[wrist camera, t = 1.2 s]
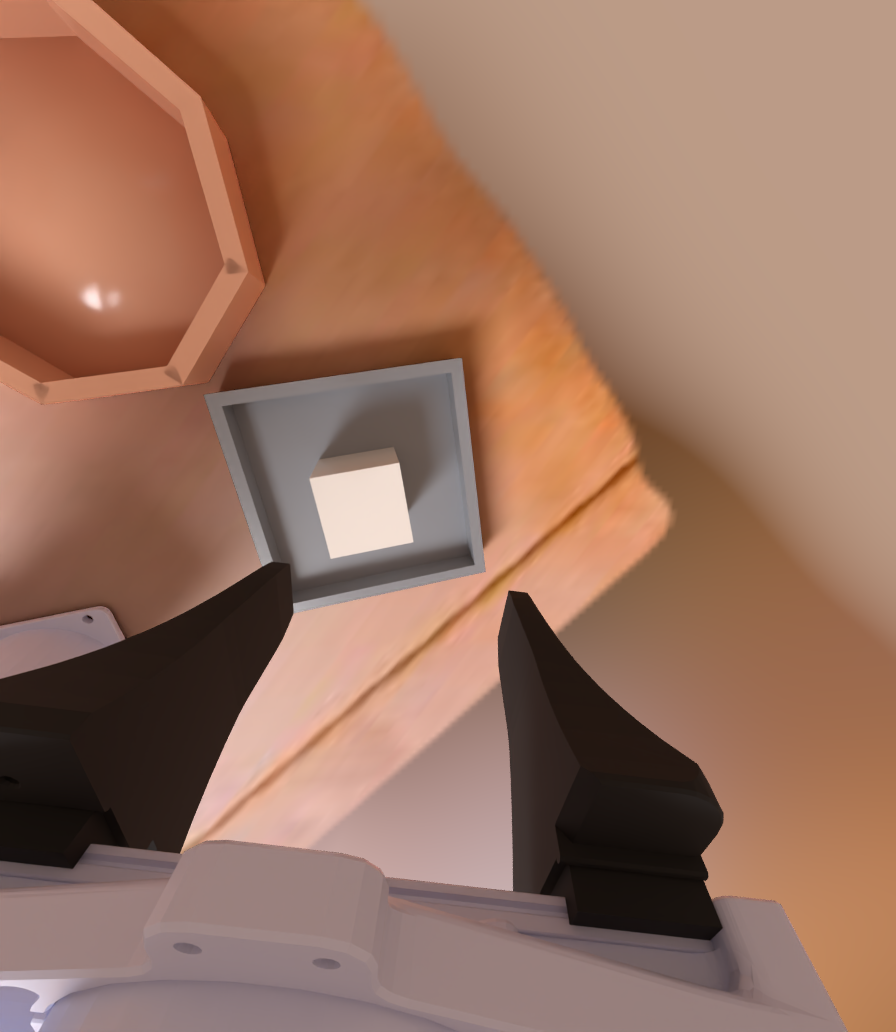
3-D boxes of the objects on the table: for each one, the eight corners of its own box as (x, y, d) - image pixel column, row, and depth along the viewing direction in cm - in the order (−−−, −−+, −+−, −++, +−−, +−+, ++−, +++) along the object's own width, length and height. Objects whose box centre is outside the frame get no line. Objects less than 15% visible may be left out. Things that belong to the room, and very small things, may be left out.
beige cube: (336, 528, 23) (330, 558, 19) (318, 459, 21) (309, 478, 18) (405, 514, 23) (413, 542, 20) (393, 446, 22) (399, 462, 18)
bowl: (-2, 412, 19) (-66, 419, 16) (-206, 26, 14) (-349, -60, 11) (288, 371, 20) (276, 372, 18) (194, 15, 16) (157, -62, 13)
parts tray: (285, 597, 24) (278, 616, 23) (218, 392, 20) (203, 394, 18) (477, 557, 26) (485, 571, 24) (453, 358, 22) (461, 357, 20)
